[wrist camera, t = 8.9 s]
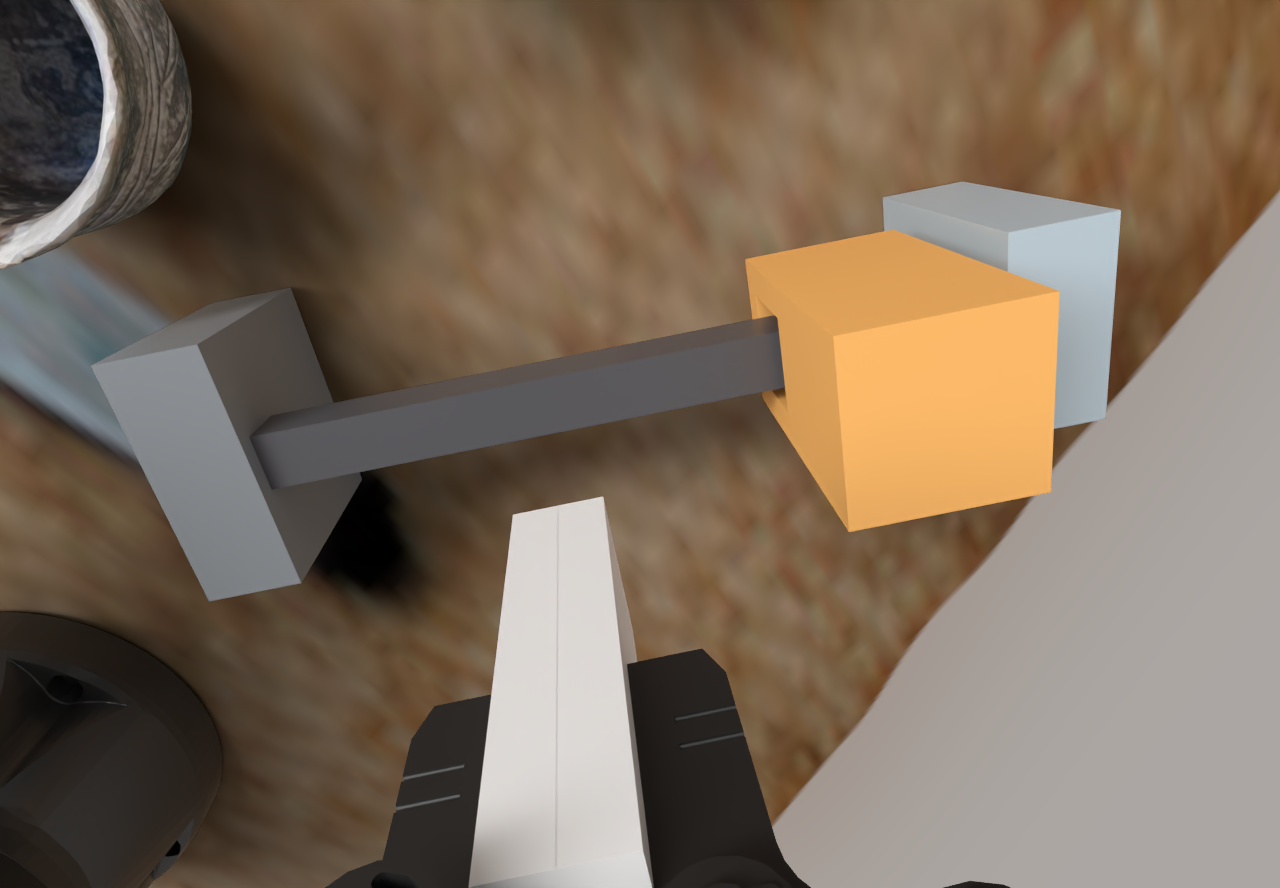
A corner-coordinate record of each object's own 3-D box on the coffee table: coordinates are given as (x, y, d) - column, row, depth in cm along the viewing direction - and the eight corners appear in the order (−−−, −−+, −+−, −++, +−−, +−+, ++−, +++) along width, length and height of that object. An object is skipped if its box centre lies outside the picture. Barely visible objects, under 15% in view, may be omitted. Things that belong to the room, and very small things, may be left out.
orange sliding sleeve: (762, 398, 27) (849, 531, 19) (745, 259, 25) (833, 336, 17) (899, 371, 27) (1050, 492, 19) (893, 229, 25) (1060, 291, 17)
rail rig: (290, 493, 31) (187, 630, 23) (210, 303, 28) (57, 383, 20) (992, 354, 31) (1142, 441, 23) (994, 146, 28) (1170, 161, 20)
